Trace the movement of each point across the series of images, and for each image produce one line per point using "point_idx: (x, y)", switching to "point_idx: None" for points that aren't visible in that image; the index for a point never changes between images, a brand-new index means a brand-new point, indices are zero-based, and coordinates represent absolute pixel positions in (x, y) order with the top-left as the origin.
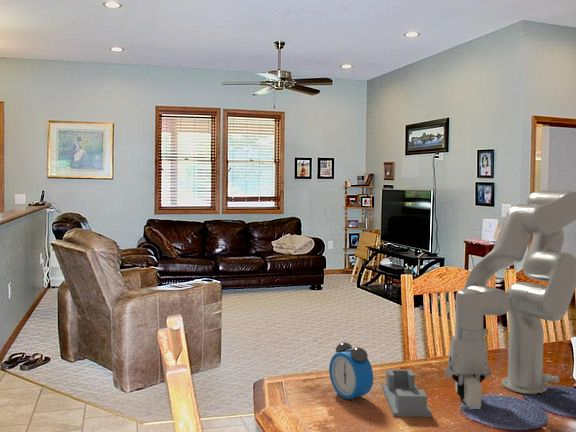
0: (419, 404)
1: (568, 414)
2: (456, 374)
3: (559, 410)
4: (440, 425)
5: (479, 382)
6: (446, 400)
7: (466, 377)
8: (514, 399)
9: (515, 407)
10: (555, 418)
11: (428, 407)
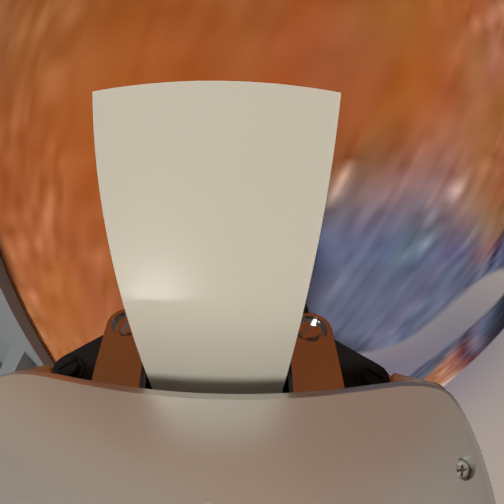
0: None
1: (482, 348)
2: (97, 371)
3: (488, 331)
4: None
5: None
6: (96, 274)
7: None
8: (461, 260)
9: (405, 333)
10: (438, 375)
11: (43, 364)
